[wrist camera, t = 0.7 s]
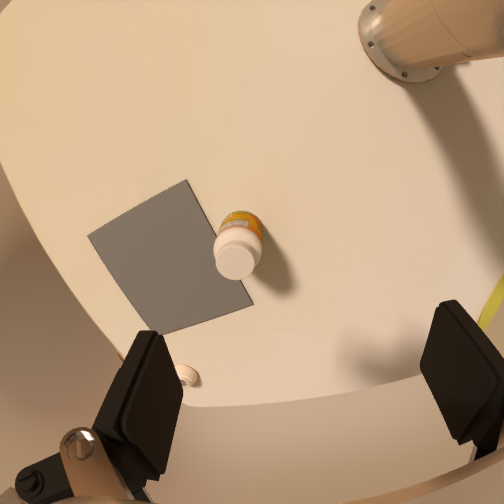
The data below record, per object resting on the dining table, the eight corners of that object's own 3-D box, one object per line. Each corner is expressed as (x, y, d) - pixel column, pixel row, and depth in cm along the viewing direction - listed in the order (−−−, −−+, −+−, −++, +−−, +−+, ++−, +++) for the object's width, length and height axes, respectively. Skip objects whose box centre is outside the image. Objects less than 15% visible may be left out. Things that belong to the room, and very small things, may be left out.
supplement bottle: (263, 247, 40) (262, 286, 31) (222, 248, 40) (211, 286, 32) (262, 208, 38) (261, 238, 29) (219, 210, 38) (206, 239, 29)
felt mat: (186, 179, 36) (185, 179, 36) (252, 302, 44) (252, 304, 44) (88, 234, 40) (87, 235, 40) (156, 335, 48) (155, 336, 47)
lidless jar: (202, 379, 52) (191, 362, 50) (199, 391, 50) (188, 374, 48) (178, 382, 53) (167, 364, 51) (175, 393, 50) (163, 376, 48)
